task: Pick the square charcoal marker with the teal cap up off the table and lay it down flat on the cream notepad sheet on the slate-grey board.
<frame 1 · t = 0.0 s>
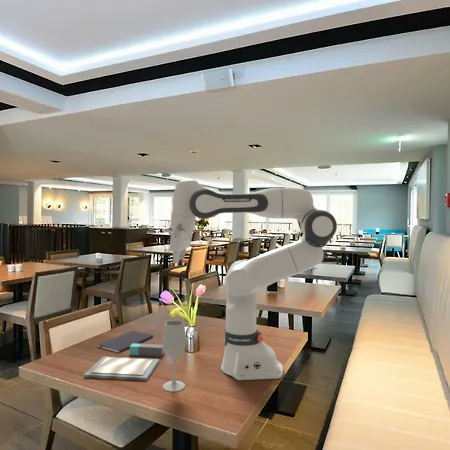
hand: (178, 261, 135), 39 cm above the table, tool pointing down, fingers open, 8 cm apart
wineglass: (173, 387, 120), on the table
notebook: (126, 343, 160), on the table
marker: (146, 353, 147), on the table
notepad: (123, 369, 132), on the table
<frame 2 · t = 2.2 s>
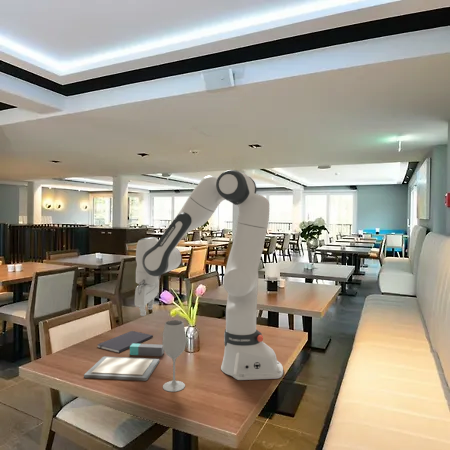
hand: (146, 312, 147), 17 cm above the table, tool pointing down, fingers open, 8 cm apart
nothing on the table moved.
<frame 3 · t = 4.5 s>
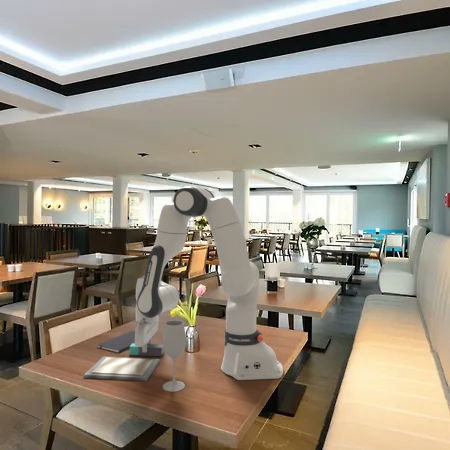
hand: (146, 349, 147), 2 cm above the table, tool pointing down, fingers closed on marker, 3 cm apart
marker: (146, 353, 147), on the table, touching gripper
everything else where it was.
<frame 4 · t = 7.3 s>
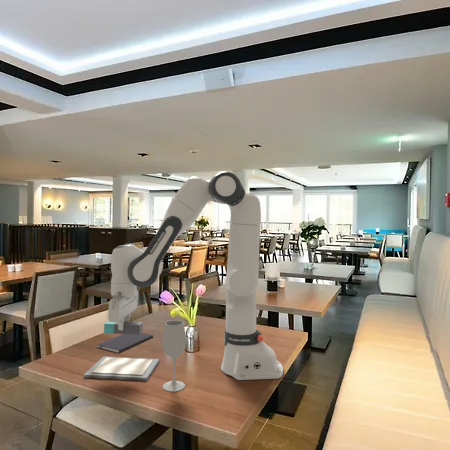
hand: (123, 327, 132), 15 cm above the table, tool pointing down, fingers closed on marker, 3 cm apart
marker: (123, 332, 132), point 13 cm above the table, touching gripper
everything else where it was.
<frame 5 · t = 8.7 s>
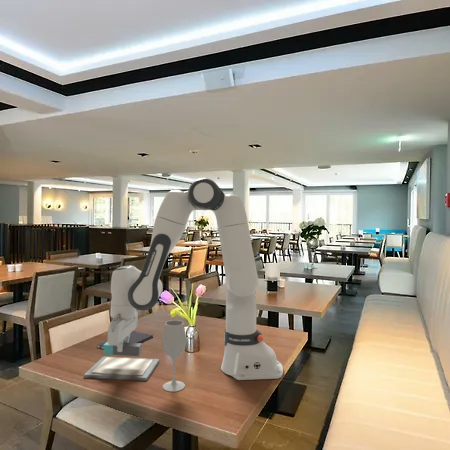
hand: (123, 348, 132), 7 cm above the table, tool pointing down, fingers closed on marker, 3 cm apart
marker: (122, 353, 132), point 6 cm above the table, touching gripper
everything else where it was.
when the fingers open (4 cm above the table, at t = 10.1 s): marker stays where it is, resting on notepad.
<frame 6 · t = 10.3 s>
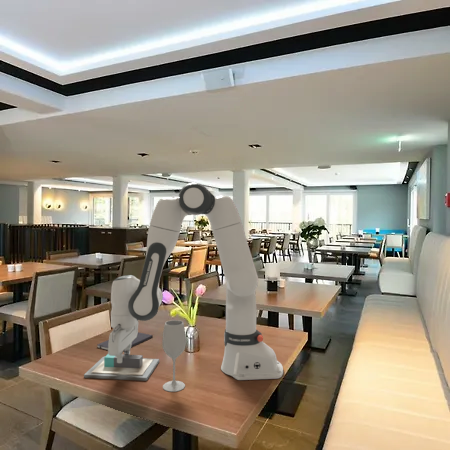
hand: (123, 358, 132), 4 cm above the table, tool pointing down, fingers open, 5 cm apart
marker: (123, 365, 132), point 1 cm above the table, touching notepad
everything else where it was.
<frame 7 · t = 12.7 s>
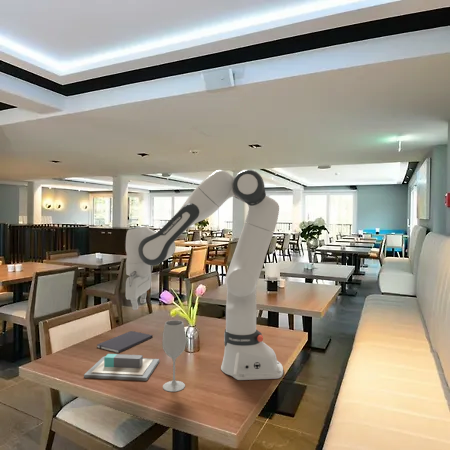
hand: (139, 306, 138), 22 cm above the table, tool pointing down, fingers open, 8 cm apart
nothing on the table moved.
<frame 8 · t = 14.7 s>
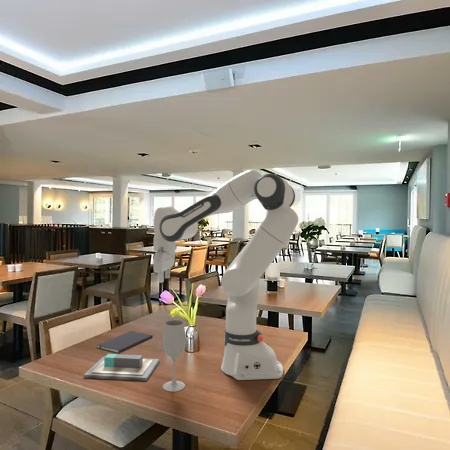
hand: (164, 280, 150), 29 cm above the table, tool pointing down, fingers open, 8 cm apart
nothing on the table moved.
at the end: marker inside the target area on the notepad (0.0 cm from its centre), point 1.3 cm above the notepad's base; the gripper is holding nothing; marker touching notepad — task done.
